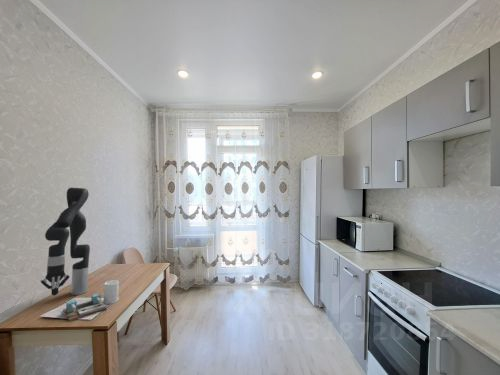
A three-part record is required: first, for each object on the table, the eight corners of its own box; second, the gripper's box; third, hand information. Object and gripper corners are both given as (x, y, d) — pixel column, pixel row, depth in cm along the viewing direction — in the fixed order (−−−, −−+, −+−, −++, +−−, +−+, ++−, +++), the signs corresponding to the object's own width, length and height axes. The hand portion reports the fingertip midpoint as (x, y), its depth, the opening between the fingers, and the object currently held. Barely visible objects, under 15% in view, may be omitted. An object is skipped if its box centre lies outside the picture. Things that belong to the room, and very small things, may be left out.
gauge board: (62, 311, 137) (63, 306, 137) (98, 301, 150) (98, 296, 151) (69, 321, 126) (69, 315, 126) (106, 309, 140) (106, 304, 140)
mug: (109, 296, 158) (109, 278, 159) (122, 295, 159) (123, 278, 160) (100, 304, 147) (101, 285, 147) (115, 303, 148) (116, 284, 148)
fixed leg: (91, 302, 145) (91, 294, 145) (98, 300, 148) (98, 292, 148) (96, 308, 139) (96, 299, 139) (103, 305, 142) (104, 297, 142)
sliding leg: (66, 310, 136) (66, 301, 136) (74, 307, 139) (74, 299, 139) (70, 316, 129) (70, 307, 129) (78, 313, 132) (79, 304, 132)
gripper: (69, 260, 138) (67, 289, 138) (39, 264, 129) (37, 296, 128) (72, 262, 133) (70, 293, 133) (41, 267, 124) (39, 300, 123)
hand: (54, 294), depth 130 cm, fingers closed
